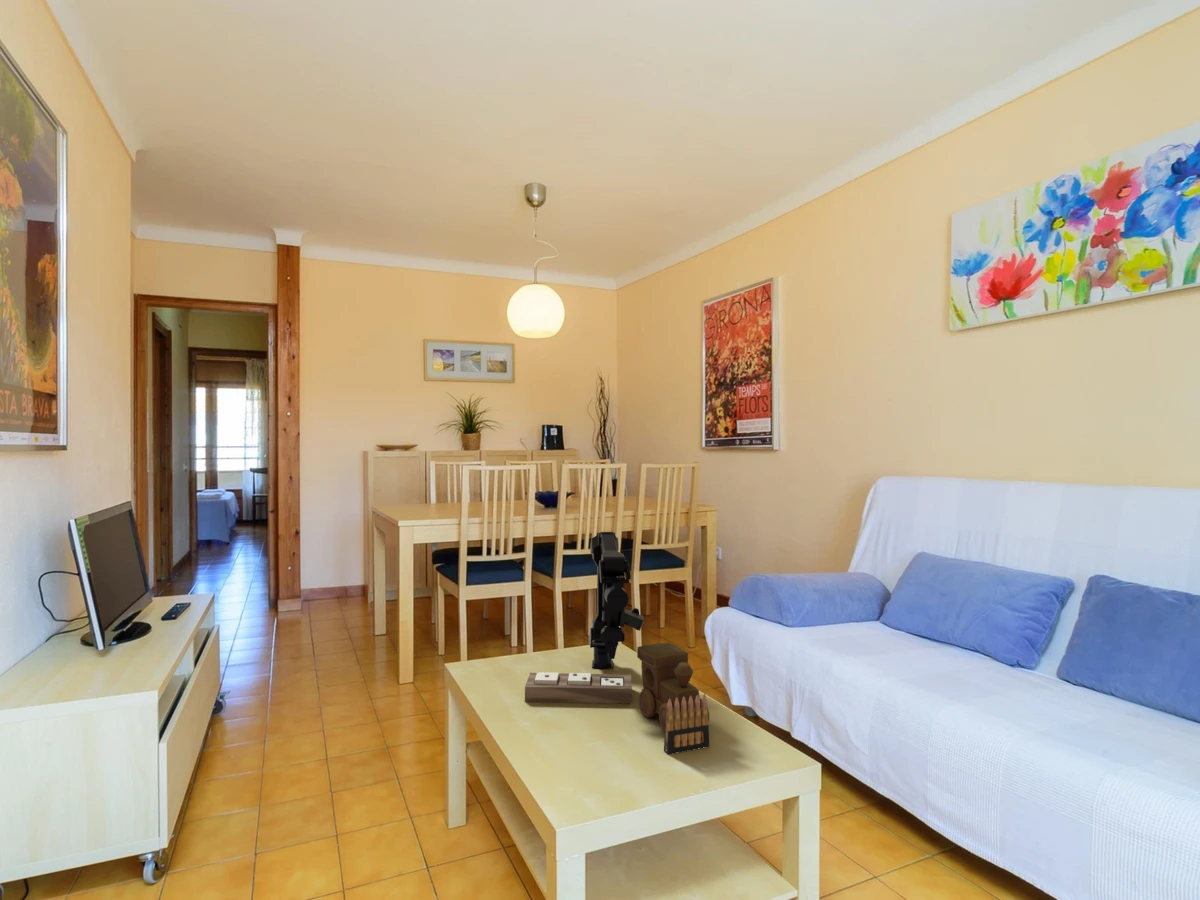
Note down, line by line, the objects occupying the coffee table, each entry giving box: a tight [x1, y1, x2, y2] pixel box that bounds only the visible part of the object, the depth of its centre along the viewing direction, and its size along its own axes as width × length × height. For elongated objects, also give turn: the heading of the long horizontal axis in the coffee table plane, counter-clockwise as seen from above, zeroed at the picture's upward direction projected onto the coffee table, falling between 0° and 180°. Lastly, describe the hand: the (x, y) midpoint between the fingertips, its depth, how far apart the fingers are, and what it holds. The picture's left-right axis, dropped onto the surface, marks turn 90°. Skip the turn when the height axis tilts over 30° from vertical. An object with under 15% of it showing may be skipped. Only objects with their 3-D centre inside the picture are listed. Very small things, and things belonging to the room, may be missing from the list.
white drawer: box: [535, 671, 560, 684], centre depth 177 cm, size 6×6×3 cm
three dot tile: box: [601, 678, 623, 686], centre depth 177 cm, size 6×6×3 cm
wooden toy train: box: [636, 642, 710, 732], centre depth 161 cm, size 20×11×17 cm, turn 24°
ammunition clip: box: [663, 693, 710, 755], centre depth 146 cm, size 11×2×12 cm, turn 110°
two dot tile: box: [568, 672, 592, 685], centre depth 177 cm, size 6×6×3 cm
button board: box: [524, 672, 633, 705], centre depth 177 cm, size 11×29×4 cm, turn 89°
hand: (612, 658), depth 177 cm, fingers closed
